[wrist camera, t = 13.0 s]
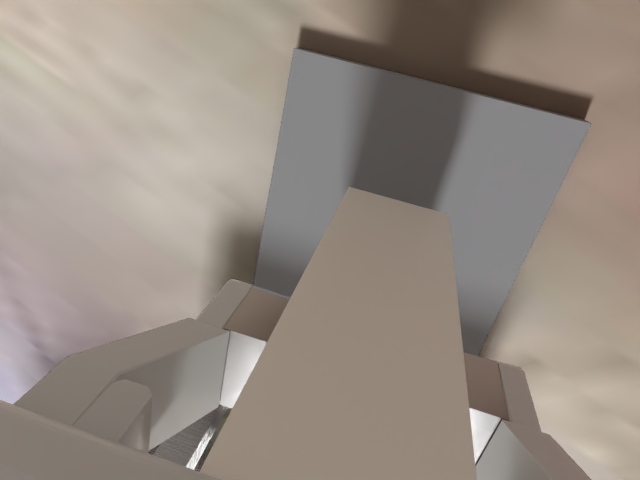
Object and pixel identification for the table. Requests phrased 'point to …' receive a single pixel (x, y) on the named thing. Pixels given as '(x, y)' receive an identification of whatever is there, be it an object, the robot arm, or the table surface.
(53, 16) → the table surface
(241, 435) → the cream wooden brick
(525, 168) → the pad
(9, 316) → the table surface
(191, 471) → the robot arm
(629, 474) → the table surface
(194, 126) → the table surface
